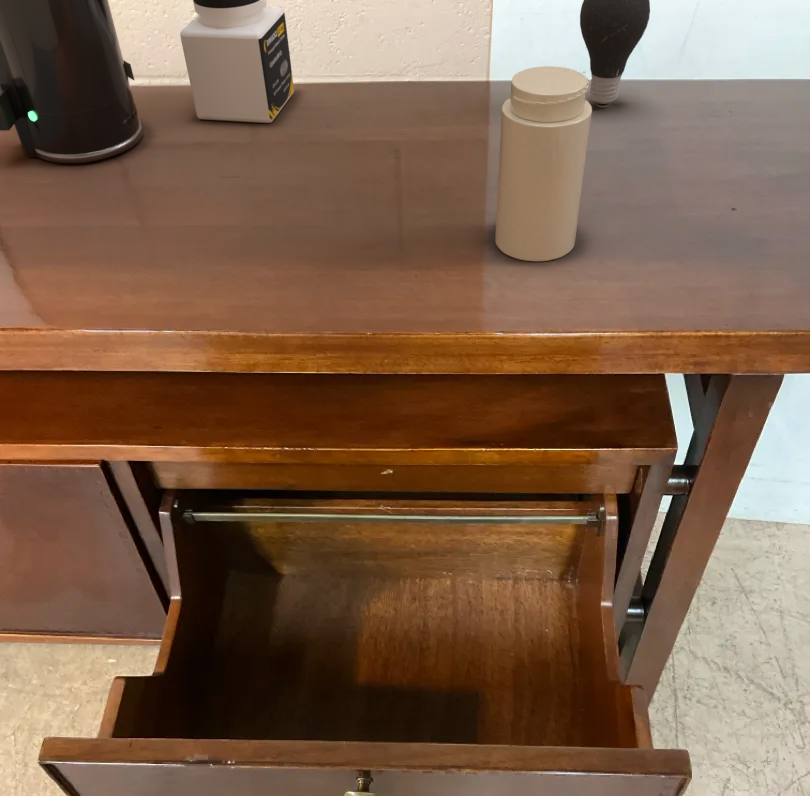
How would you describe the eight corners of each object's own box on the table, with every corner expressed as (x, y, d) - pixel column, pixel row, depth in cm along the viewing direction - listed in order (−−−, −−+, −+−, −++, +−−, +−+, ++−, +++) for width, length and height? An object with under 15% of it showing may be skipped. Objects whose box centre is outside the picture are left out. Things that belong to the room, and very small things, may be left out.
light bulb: (648, 107, 74) (671, -26, 66) (600, 124, 72) (619, -11, 64) (603, 88, 77) (621, -41, 69) (557, 103, 75) (569, -28, 67)
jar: (509, 267, 57) (520, 103, 49) (485, 227, 61) (491, 69, 53) (587, 254, 58) (610, 91, 50) (558, 216, 61) (575, 58, 53)
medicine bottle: (272, 124, 74) (249, -36, 65) (196, 120, 75) (163, -38, 66) (295, 92, 79) (276, -61, 70) (223, 89, 80) (196, -63, 71)
